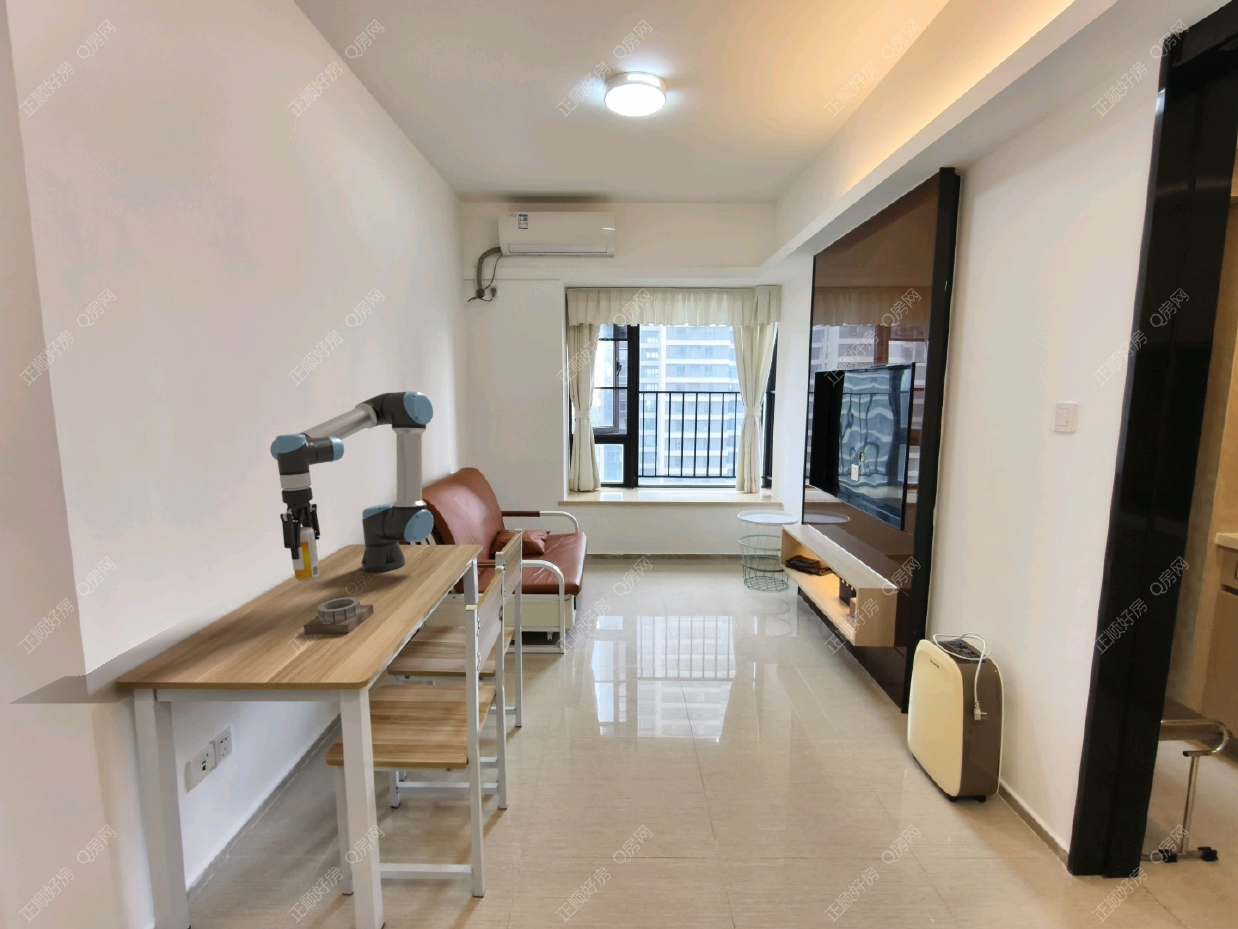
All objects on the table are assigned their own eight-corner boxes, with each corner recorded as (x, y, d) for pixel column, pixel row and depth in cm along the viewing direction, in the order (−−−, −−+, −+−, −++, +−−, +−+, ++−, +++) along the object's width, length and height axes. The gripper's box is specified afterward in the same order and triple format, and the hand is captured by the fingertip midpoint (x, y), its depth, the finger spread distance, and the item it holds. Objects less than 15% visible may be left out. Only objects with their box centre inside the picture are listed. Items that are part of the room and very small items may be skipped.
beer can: (303, 575, 165) (297, 526, 163) (323, 574, 164) (317, 525, 162) (291, 582, 159) (284, 532, 157) (311, 581, 158) (305, 531, 156)
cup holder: (333, 613, 161) (332, 595, 160) (373, 613, 160) (372, 594, 160) (304, 634, 147) (302, 614, 146) (348, 633, 146) (346, 613, 146)
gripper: (303, 482, 167) (312, 555, 171) (261, 495, 149) (272, 577, 152) (327, 481, 167) (336, 555, 170) (288, 494, 148) (298, 576, 151)
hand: (306, 565), depth 161 cm, fingers closed on beer can, 6 cm apart
